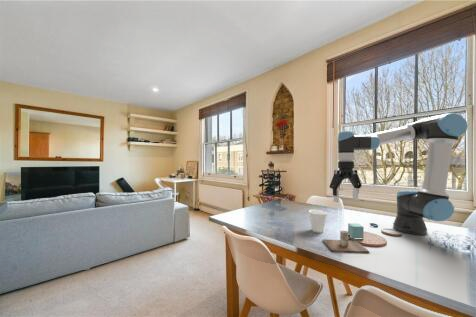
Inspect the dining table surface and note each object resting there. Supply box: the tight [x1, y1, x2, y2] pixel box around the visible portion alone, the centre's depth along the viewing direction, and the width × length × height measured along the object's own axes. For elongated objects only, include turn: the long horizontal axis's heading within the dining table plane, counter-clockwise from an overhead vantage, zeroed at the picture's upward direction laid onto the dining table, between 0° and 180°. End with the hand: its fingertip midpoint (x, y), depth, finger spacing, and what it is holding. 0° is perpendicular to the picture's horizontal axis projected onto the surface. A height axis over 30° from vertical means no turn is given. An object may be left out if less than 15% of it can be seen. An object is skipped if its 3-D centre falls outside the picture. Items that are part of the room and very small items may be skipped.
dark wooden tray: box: [321, 230, 370, 254], centre depth 95 cm, size 16×12×7 cm
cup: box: [308, 209, 328, 234], centre depth 115 cm, size 10×10×11 cm
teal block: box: [347, 222, 364, 239], centre depth 106 cm, size 5×5×7 cm
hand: (345, 201), depth 107 cm, fingers open, 13 cm apart
